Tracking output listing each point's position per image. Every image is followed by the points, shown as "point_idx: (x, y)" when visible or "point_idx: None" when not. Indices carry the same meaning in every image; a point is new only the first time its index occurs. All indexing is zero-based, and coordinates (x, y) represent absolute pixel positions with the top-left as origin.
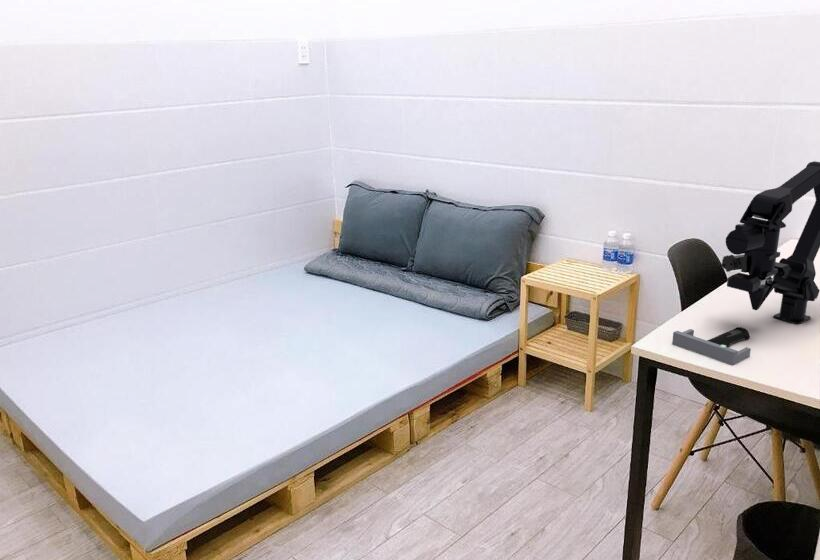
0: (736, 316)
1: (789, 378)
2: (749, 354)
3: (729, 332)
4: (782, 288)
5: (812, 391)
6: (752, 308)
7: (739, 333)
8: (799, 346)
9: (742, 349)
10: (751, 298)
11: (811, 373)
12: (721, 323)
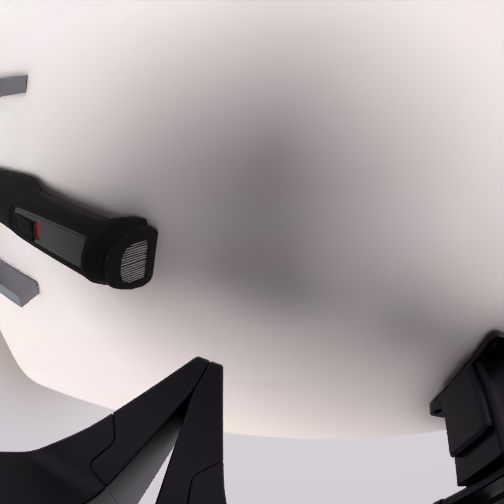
0: (453, 158)
1: (37, 361)
2: (32, 296)
3: (46, 226)
4: (501, 499)
5: (37, 382)
6: (192, 359)
7: (71, 262)
8: None
9: (4, 287)
10: (124, 415)
11: (83, 398)
12: (264, 99)
